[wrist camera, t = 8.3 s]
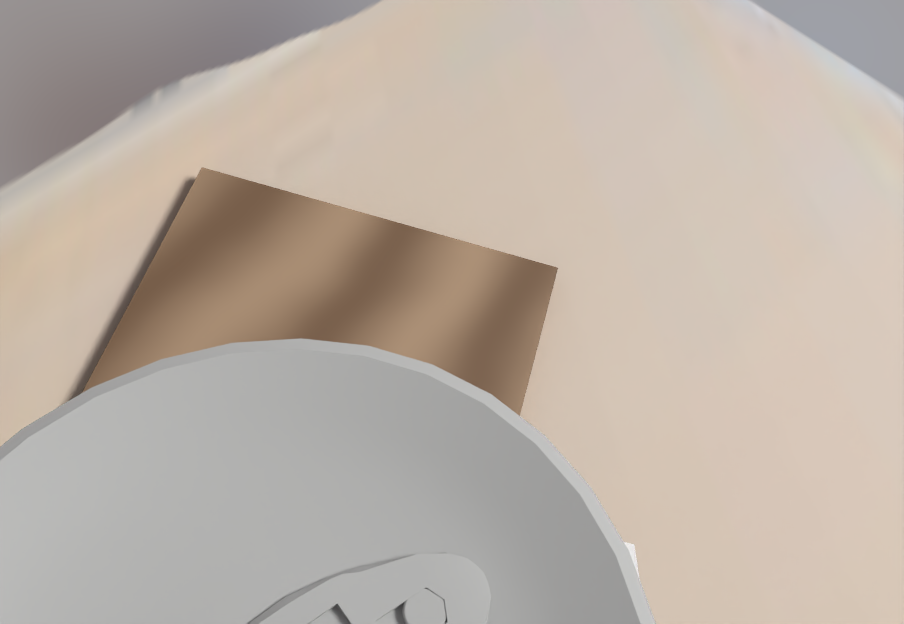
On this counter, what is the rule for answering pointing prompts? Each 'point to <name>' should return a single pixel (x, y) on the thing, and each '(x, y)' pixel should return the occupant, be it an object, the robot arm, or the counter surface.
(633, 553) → the robot arm
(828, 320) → the counter surface
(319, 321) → the walnut board
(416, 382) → the canned food
